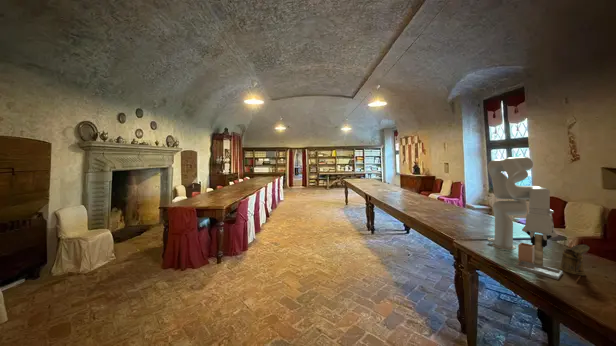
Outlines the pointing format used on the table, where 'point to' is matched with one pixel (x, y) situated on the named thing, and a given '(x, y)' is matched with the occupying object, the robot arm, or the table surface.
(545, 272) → the tray
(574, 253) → the wooden mug
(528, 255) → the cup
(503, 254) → the table surface
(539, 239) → the dowel
